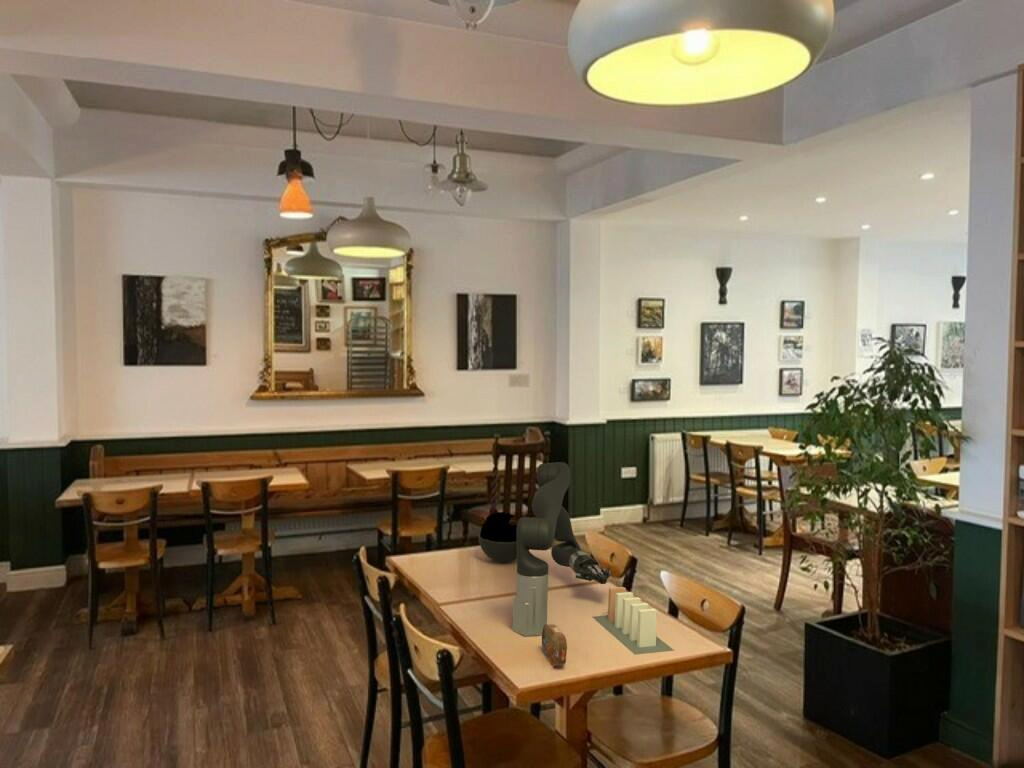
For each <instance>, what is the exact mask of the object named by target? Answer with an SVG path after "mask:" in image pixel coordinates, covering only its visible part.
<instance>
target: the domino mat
mask: <svg viewBox="0 0 1024 768" xmlns="http://www.w3.org/2000/svg"><path fill="white" fill-rule="evenodd" d="M592 618H593V619H594V620H595V621H596V622H597V623H598V624H599V625H600V626H602V627H603V628H604V629H605V630H606V631H607V632H609V634H611V635H612V636H613V637H614V638H615V639H616V640H617V641H619V643H620V644H621V645H623V646H624V647H625V648H626V649H628V650H629V651H630V652H631V653H632V654H633V655H644V654H655V653H663V652H664V653H665V652H672V651H673V652H674V651H675V649H673V648H672V647H671V646H669V645H668V644H667V643H666V642H665V641H663V640H662V639H661V638H659V637H658V636H657V635H656V646H648V647H639V646H637V640H633V641H631V640H630V639H629V634H623V633H622V628H616V627H615V622H609V621H608V614H607V615H595V616H592Z"/></svg>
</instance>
